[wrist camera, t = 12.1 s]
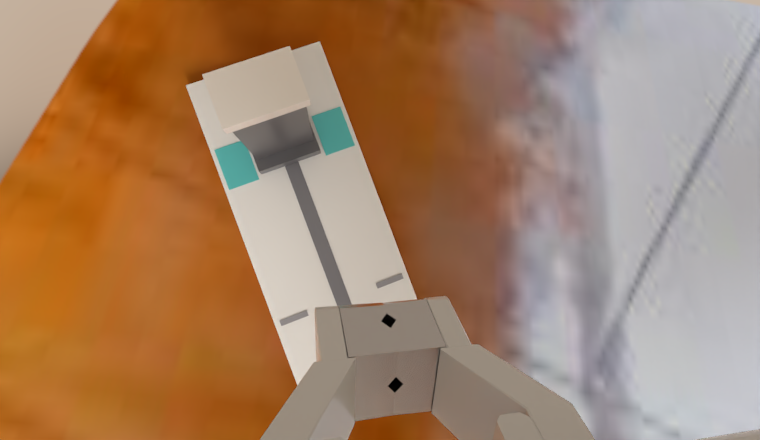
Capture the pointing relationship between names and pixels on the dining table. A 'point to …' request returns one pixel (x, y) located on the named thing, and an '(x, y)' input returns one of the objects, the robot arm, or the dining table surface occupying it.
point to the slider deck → (309, 216)
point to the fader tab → (265, 108)
